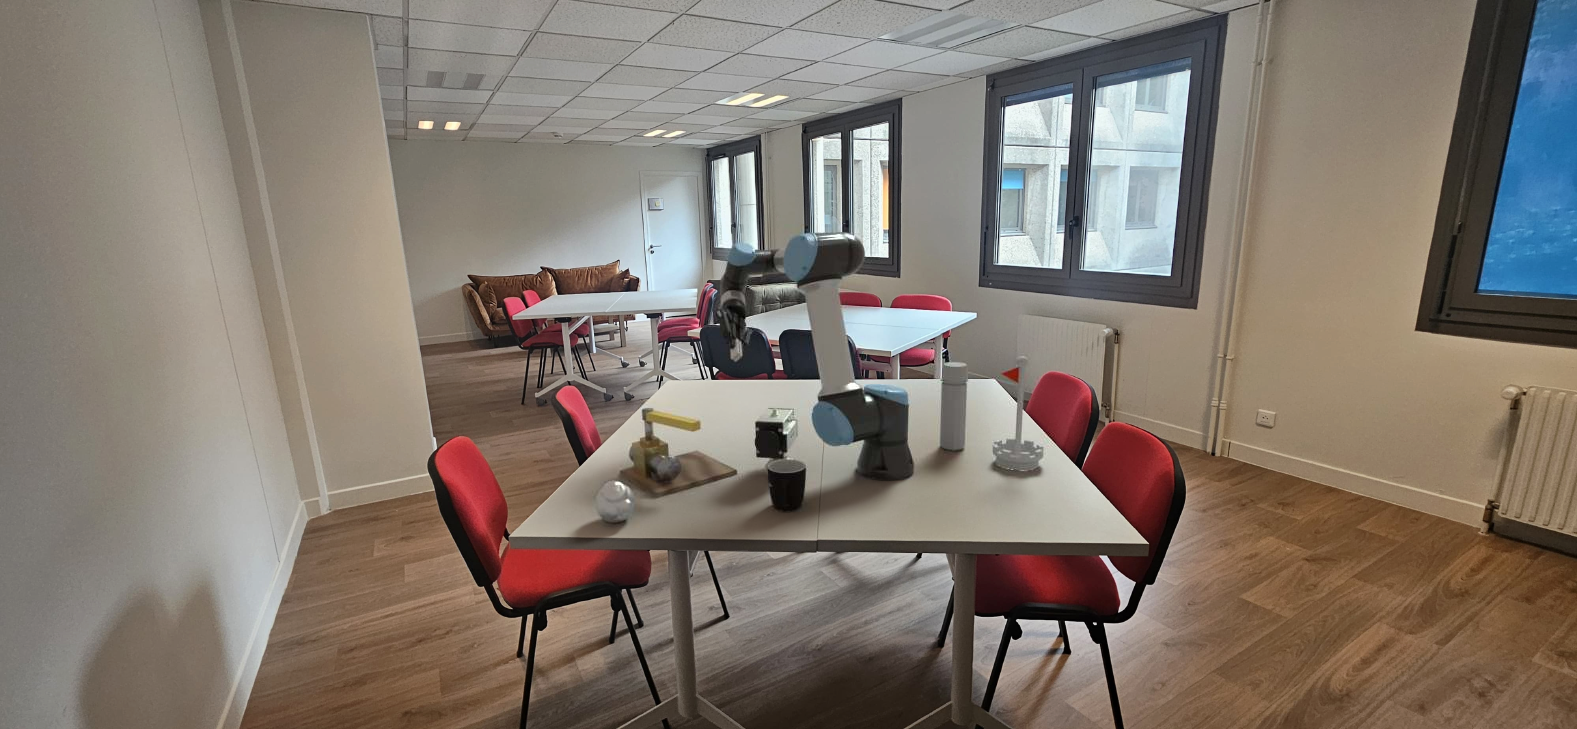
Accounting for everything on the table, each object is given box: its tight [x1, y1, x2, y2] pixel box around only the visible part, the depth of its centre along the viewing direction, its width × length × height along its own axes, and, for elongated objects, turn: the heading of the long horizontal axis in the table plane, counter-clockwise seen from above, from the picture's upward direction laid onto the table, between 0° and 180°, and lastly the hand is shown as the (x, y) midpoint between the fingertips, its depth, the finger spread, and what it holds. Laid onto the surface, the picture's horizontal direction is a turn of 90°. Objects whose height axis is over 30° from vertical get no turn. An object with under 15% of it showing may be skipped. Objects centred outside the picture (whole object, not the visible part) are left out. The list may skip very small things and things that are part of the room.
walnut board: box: [619, 450, 738, 499], centre depth 178 cm, size 24×21×1 cm
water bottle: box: [939, 361, 969, 452], centre depth 193 cm, size 9×8×25 cm
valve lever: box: [641, 407, 701, 433], centre depth 169 cm, size 20×3×3 cm, turn 53°
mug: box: [767, 459, 807, 512], centre depth 154 cm, size 12×9×10 cm
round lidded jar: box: [594, 480, 636, 524], centre depth 149 cm, size 9×9×10 cm
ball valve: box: [754, 407, 799, 476], centre depth 176 cm, size 18×8×18 cm, turn 168°
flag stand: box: [992, 355, 1044, 470], centre depth 177 cm, size 13×13×30 cm
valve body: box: [628, 420, 681, 483], centre depth 174 cm, size 7×17×14 cm, turn 38°
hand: (736, 357), depth 182 cm, fingers closed
